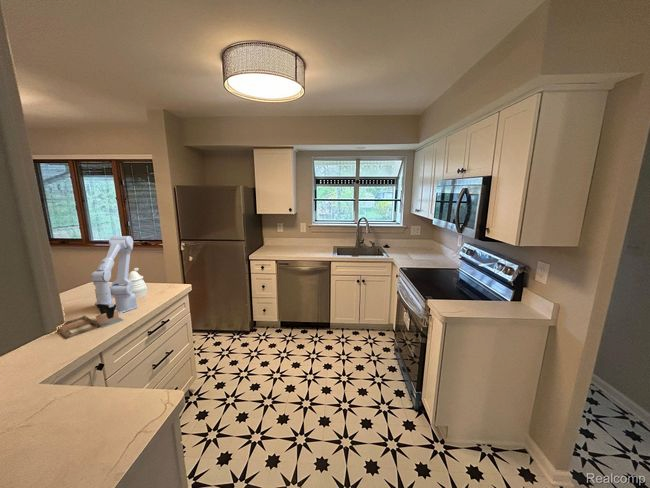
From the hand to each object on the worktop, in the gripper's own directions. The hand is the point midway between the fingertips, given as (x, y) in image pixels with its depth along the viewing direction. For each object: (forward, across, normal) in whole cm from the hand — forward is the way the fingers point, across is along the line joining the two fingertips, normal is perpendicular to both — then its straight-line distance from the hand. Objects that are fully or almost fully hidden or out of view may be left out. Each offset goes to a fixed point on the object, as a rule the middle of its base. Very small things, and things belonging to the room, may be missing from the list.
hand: (107, 316), depth 142 cm
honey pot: (+3, -28, +26) cm, 39 cm away
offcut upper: (+3, 0, -12) cm, 12 cm away
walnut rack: (+3, -5, -12) cm, 13 cm away
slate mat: (+3, 0, 0) cm, 3 cm away
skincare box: (+3, -23, +8) cm, 24 cm away
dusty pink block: (+3, 0, 0) cm, 3 cm away
